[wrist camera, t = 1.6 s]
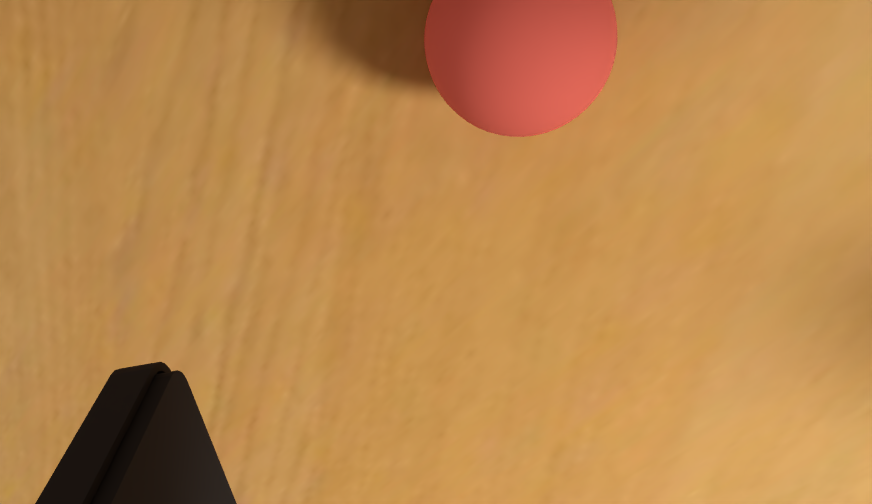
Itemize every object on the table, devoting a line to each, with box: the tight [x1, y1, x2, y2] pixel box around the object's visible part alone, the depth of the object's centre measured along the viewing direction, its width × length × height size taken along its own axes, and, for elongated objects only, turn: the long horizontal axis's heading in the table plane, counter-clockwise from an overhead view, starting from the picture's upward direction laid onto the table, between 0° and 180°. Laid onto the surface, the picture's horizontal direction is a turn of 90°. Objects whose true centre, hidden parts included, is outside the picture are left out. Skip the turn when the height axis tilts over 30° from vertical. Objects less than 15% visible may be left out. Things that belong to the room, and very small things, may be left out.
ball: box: [424, 0, 617, 137], centre depth 26 cm, size 6×6×6 cm
